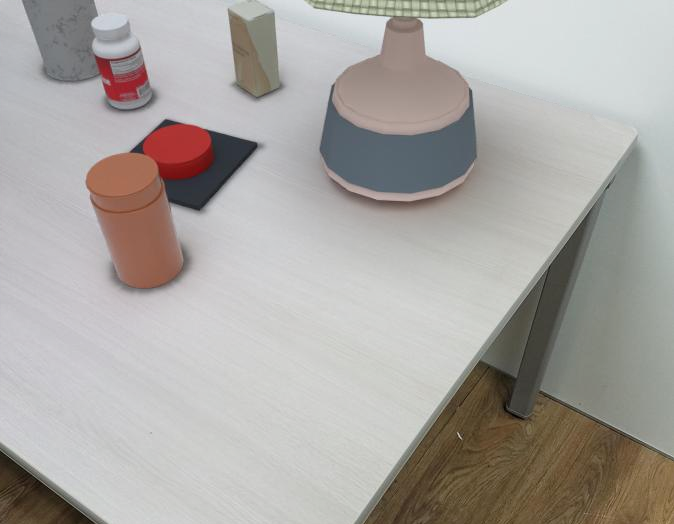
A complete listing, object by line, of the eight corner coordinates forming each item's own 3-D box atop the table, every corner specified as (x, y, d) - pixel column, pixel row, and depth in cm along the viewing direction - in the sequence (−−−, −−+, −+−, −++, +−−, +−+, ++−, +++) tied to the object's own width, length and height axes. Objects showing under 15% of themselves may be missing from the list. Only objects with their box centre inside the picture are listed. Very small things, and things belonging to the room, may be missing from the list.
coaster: (102, 181, 86) (101, 177, 85) (166, 122, 94) (165, 118, 93) (199, 210, 82) (198, 206, 81) (257, 146, 90) (257, 142, 89)
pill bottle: (107, 91, 99) (84, 13, 91) (150, 84, 100) (131, 6, 92) (109, 114, 95) (85, 35, 87) (154, 107, 96) (135, 28, 88)
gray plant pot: (121, 50, 107) (98, -34, 98) (96, 83, 101) (69, -4, 92) (62, 46, 108) (34, -38, 99) (34, 78, 102) (2, -8, 93)
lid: (195, 132, 91) (192, 116, 89) (226, 163, 87) (223, 146, 85) (136, 155, 88) (131, 139, 86) (165, 188, 84) (161, 171, 82)
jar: (103, 277, 75) (67, 185, 66) (142, 235, 79) (114, 144, 70) (159, 296, 73) (131, 204, 64) (196, 253, 77) (174, 161, 68)
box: (235, 84, 100) (224, 6, 91) (260, 73, 102) (251, -4, 93) (257, 99, 97) (248, 19, 89) (282, 87, 99) (275, 9, 91)
